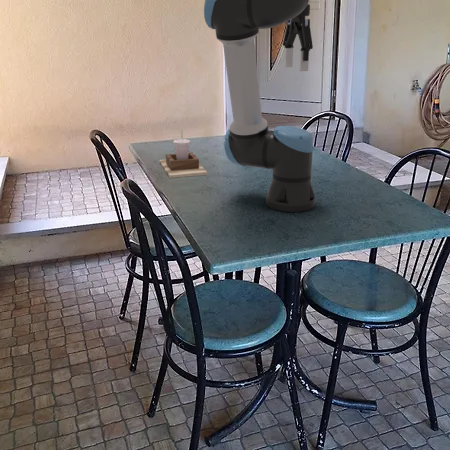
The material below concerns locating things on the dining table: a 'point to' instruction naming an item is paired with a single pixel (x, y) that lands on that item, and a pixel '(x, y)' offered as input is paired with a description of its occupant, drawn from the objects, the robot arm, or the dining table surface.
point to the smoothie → (181, 148)
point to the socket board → (182, 166)
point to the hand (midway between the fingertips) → (295, 69)
